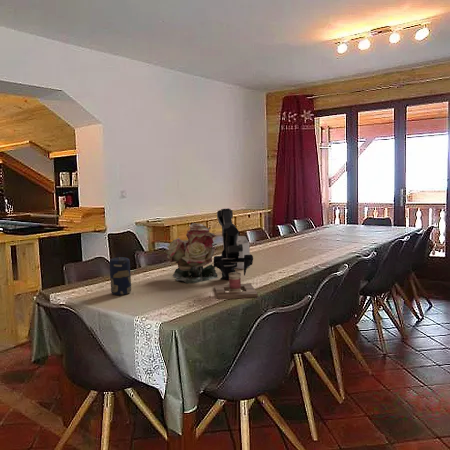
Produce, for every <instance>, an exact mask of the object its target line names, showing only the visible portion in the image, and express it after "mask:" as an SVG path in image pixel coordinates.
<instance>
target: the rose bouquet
mask: <svg viewBox="0 0 450 450" xmlns="http://www.w3.org/2000/svg"><path fill="white" fill-rule="evenodd" d="M189 228H190V229H189V230H187V231H186V232H187V233H186V234H185V235H186V238H187V241H184V240H182V239H180V238H179V237H177V238H175V239H173V240H172V241H171V242H170V243H169V245H167V246H166V248H168V249H167V250H166V251H165V254H167V256H166V257H167V258H168V259H167V260H168V261H169V263H173V262H174V263H175V264H177V268H176V269H175V270H174V272H173V274H172V277H173V278H175V279H174V280H175V281H182V282H184V283H185V284H187V285H188V284H194V283H195V284H196V283H200V282H204V281H210V280H215V279H218V278H219V276H218V273H217V270H216V267H214V264H213V263H212V262H213V256H214V252H215V248H214V247H215V246H216V245H218V243H215V240H214V239H213V238H215V237H217V234H215V233H214V232H213V233H212V232H210V230H211V226H209V227H207V226H206V225H204V224H201V223H196V222H192V223H191V224H190V225H189ZM210 263H211V264H210ZM204 266H205V267H204Z"/></svg>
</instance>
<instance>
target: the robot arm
mask: <svg viewBox="0 0 450 450" xmlns="http://www.w3.org/2000/svg"><path fill="white" fill-rule="evenodd" d="M233 212H234V211H233V210H232V209H231V208H221V209H219V210H217V212H216V218H217V220H218V224H219V225H220V226H221V236H222V245H223V249H222V251H221V255H215V256H214V255H213V256H214V257H213V260H212V262H213V264H212V265H213V266H214V267H215V268H216V269H219V271H221V277H220V280H228V281H229V273H232V272H236V269H237V268H236V267H237V262H244V269H243V276H246V273H247V269H248V268H250V267H251V266H253V262H254V256H253V254H251V253H250V255H244V258H239V252H242V251H243V246H242V244H239V245H237V239H238V236H240V231H239V229H238V228H237V227H236V224H235V223H233V220H232V219H233V217H234V213H233ZM249 266H250V267H249ZM247 267H248V268H247Z"/></svg>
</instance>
